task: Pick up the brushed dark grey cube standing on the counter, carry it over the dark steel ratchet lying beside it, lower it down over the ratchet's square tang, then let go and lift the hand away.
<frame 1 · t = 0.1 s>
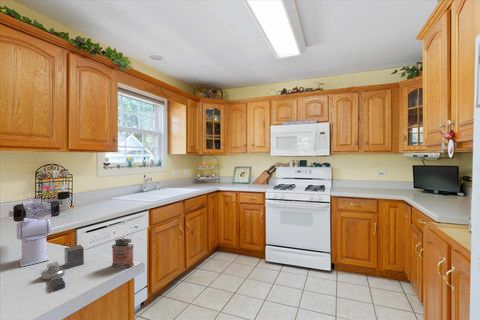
hand: (40, 212, 79), 22 cm above the counter, tool horizontal, fingers open, 7 cm apart
brushed dark grey cube: (74, 264, 89), on the counter
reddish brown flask: (123, 266, 87), on the counter
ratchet: (53, 276, 80), on the counter
glass holder: (60, 212, 184), on the counter
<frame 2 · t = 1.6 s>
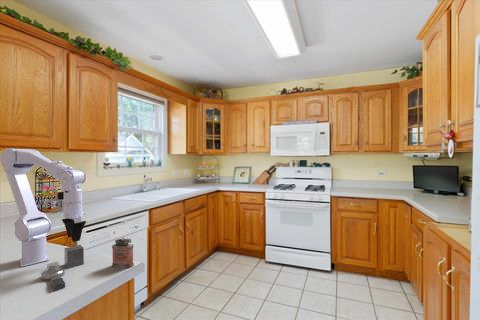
hand: (73, 238, 89), 9 cm above the counter, tool pointing down, fingers open, 7 cm apart
nothing on the counter moved.
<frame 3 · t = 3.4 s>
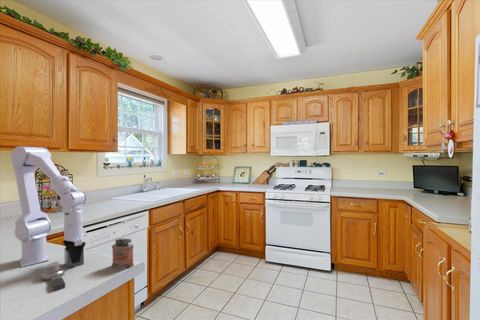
hand: (74, 260, 89), 1 cm above the counter, tool pointing down, fingers closed on brushed dark grey cube, 5 cm apart
brushed dark grey cube: (74, 264, 89), on the counter, touching gripper
everything else where it was.
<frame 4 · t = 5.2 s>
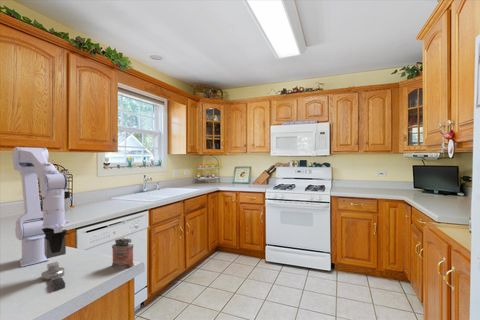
hand: (54, 250, 80), 8 cm above the counter, tool pointing down, fingers closed on brushed dark grey cube, 5 cm apart
brushed dark grey cube: (55, 254, 80), point 7 cm above the counter, touching gripper
everything else where it was.
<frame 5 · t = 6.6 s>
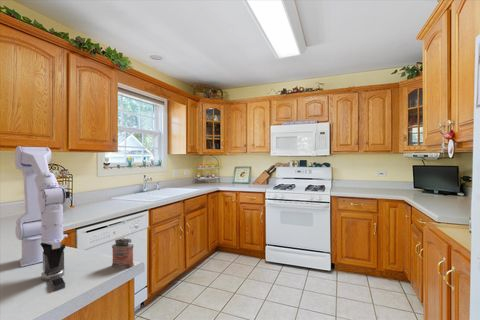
hand: (52, 265, 80), 4 cm above the counter, tool pointing down, fingers closed on brushed dark grey cube, 5 cm apart
brushed dark grey cube: (53, 269, 80), point 2 cm above the counter, touching gripper
everything else where it was.
when the fingers open (4 cm above the counter, at t = 7.4 s): brushed dark grey cube stays where it is, resting on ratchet.
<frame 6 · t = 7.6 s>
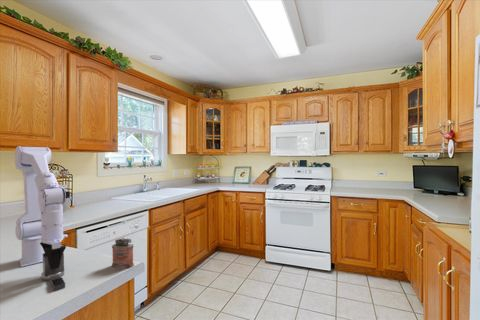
hand: (53, 265, 80), 4 cm above the counter, tool pointing down, fingers open, 7 cm apart
brushed dark grey cube: (53, 271, 80), point 2 cm above the counter, touching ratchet
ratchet: (53, 276, 80), on the counter, touching brushed dark grey cube
everything else where it was.
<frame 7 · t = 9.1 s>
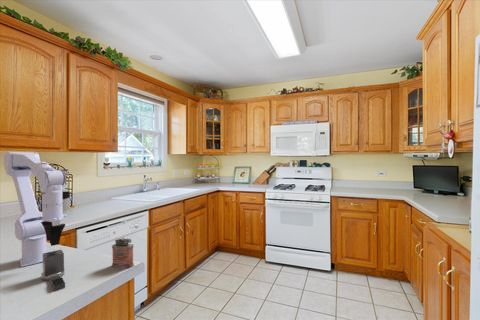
hand: (53, 242, 85), 9 cm above the counter, tool pointing down, fingers open, 7 cm apart
nothing on the counter moved.
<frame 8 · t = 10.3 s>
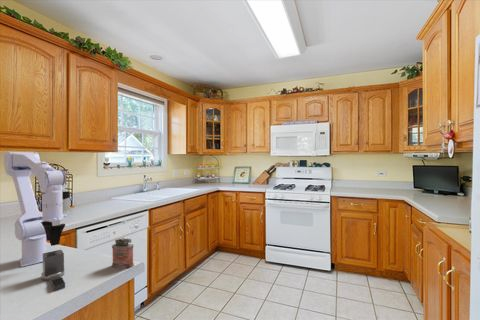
hand: (53, 242, 85), 9 cm above the counter, tool pointing down, fingers open, 7 cm apart
nothing on the counter moved.
at the end: brushed dark grey cube 0.1 cm off-centre on the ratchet, point 1.6 cm above the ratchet's base; brushed dark grey cube tilted 0°; the gripper is holding nothing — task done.
